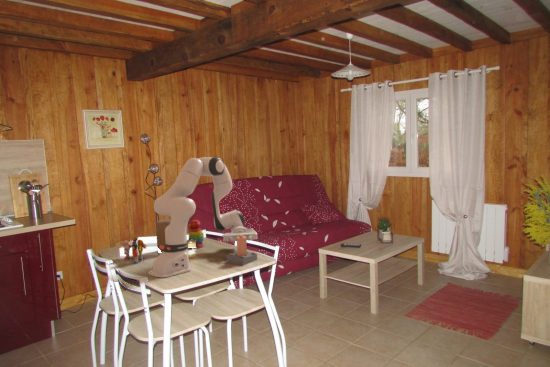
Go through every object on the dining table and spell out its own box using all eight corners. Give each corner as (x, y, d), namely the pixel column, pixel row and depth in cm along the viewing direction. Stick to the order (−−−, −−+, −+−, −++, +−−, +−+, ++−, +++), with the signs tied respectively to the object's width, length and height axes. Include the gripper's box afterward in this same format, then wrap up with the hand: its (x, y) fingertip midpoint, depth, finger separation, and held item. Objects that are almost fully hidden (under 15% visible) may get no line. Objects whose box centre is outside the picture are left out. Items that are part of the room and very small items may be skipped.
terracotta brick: (246, 255, 220) (246, 236, 219) (237, 256, 219) (237, 237, 218) (245, 253, 225) (245, 234, 224) (237, 253, 224) (236, 235, 223)
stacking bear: (187, 245, 261) (186, 219, 259) (203, 244, 263) (202, 218, 262) (188, 249, 251) (186, 221, 249) (204, 248, 253) (203, 220, 251)
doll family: (121, 257, 235) (120, 236, 234) (137, 254, 242) (136, 233, 240) (135, 265, 219) (134, 241, 218) (152, 261, 226) (150, 239, 225)
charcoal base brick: (243, 266, 214) (243, 257, 214) (227, 262, 221) (226, 254, 221) (257, 260, 224) (256, 252, 224) (241, 257, 231) (240, 249, 231)
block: (178, 249, 250) (176, 218, 248) (172, 254, 240) (171, 221, 239) (163, 249, 251) (161, 218, 249) (156, 254, 241) (155, 221, 240)
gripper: (221, 230, 238) (222, 235, 224) (255, 228, 241) (258, 232, 228) (222, 240, 239) (223, 246, 225) (255, 238, 242) (258, 243, 228)
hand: (241, 239), depth 226 cm, fingers open, 8 cm apart
